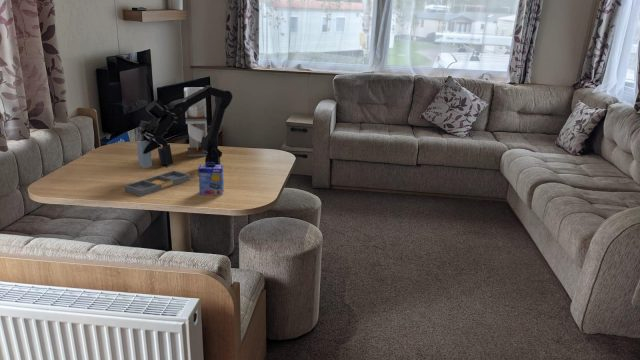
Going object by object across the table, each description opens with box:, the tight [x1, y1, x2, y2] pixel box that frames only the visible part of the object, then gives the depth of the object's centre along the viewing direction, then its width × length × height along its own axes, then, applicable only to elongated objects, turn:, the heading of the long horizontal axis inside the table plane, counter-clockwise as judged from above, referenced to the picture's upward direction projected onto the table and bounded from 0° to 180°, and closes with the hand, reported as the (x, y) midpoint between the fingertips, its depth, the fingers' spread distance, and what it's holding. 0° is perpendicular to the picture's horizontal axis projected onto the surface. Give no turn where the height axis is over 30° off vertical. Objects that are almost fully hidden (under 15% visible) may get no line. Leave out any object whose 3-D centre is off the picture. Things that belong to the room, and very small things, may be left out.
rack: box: [124, 170, 191, 197], centre depth 219 cm, size 27×11×2 cm, turn 148°
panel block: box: [136, 140, 153, 169], centre depth 221 cm, size 4×5×11 cm
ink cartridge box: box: [198, 162, 225, 196], centre depth 210 cm, size 10×6×14 cm, turn 95°
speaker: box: [157, 144, 174, 168], centre depth 248 cm, size 8×6×10 cm
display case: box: [183, 87, 208, 157], centre depth 264 cm, size 11×11×35 cm
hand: (141, 152), depth 220 cm, fingers closed on panel block, 5 cm apart
